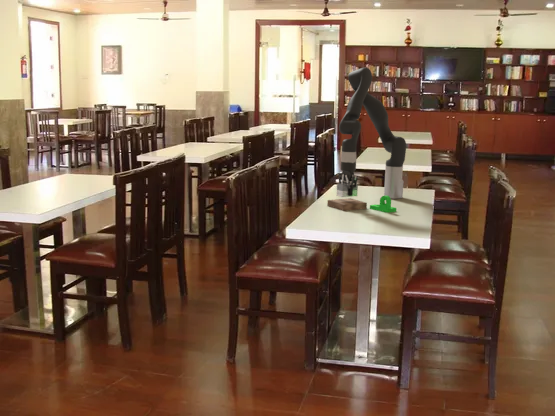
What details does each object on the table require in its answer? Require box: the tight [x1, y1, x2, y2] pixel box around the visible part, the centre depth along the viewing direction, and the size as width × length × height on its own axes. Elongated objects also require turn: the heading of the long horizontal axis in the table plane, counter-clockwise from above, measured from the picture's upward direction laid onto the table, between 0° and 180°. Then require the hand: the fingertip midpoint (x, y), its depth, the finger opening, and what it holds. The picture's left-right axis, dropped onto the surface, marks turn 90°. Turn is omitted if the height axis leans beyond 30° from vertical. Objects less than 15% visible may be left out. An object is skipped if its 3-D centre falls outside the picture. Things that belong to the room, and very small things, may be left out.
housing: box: [336, 182, 359, 198], centre depth 312 cm, size 5×9×6 cm, turn 118°
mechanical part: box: [369, 195, 397, 214], centre depth 308 cm, size 12×6×8 cm, turn 37°
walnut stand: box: [326, 197, 368, 212], centre depth 313 cm, size 14×14×3 cm
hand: (346, 194), depth 313 cm, fingers closed on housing, 5 cm apart
